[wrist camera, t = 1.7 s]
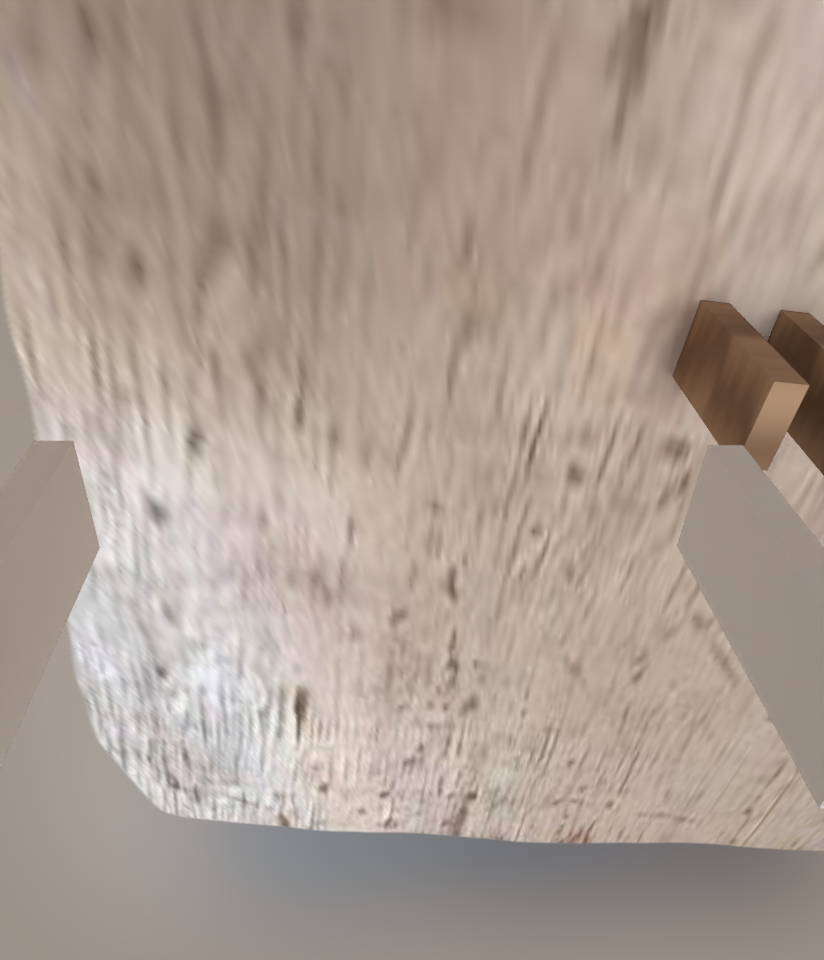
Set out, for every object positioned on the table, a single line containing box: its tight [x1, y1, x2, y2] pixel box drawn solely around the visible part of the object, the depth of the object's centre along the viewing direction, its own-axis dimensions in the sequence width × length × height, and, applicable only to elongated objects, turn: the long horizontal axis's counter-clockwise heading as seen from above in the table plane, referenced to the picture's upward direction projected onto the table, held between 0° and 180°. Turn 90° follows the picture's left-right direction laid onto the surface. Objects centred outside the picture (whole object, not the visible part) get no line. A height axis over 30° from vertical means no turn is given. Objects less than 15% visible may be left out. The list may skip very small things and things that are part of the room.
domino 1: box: [673, 300, 810, 471], centre depth 41 cm, size 5×2×10 cm, turn 172°
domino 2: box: [767, 310, 824, 475], centre depth 42 cm, size 5×2×10 cm, turn 172°
